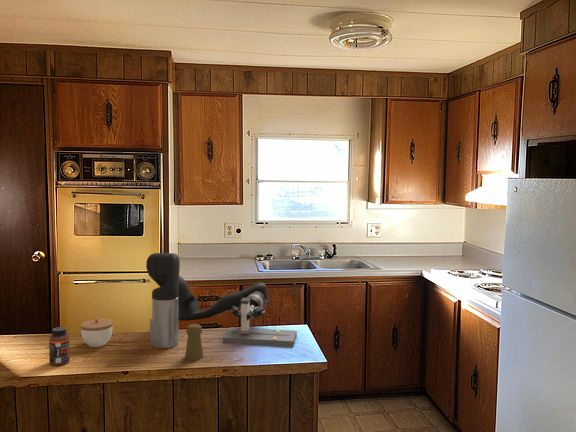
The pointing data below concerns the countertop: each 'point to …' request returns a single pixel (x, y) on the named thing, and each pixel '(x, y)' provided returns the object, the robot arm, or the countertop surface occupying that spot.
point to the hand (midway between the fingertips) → (243, 317)
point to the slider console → (261, 337)
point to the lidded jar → (96, 332)
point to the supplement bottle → (59, 347)
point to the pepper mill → (194, 342)
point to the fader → (245, 316)
